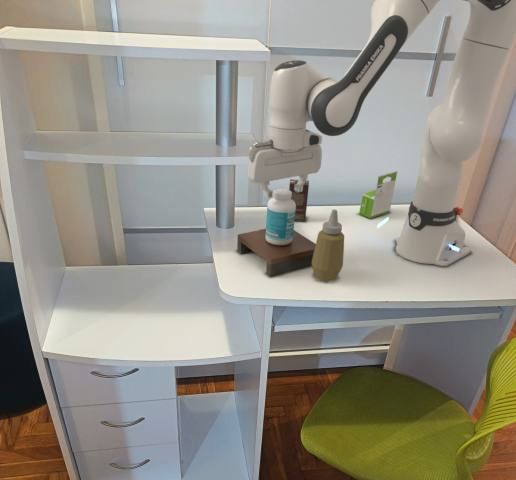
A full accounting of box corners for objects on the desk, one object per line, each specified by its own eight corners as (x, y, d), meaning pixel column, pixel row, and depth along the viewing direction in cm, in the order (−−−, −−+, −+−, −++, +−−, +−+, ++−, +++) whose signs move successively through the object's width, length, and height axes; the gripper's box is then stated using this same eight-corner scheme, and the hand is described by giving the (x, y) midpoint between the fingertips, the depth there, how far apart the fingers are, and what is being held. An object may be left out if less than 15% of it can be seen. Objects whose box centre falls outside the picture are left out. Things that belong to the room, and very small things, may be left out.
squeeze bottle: (316, 285, 128) (325, 217, 118) (305, 270, 134) (312, 205, 124) (346, 282, 130) (357, 215, 120) (333, 268, 136) (343, 203, 126)
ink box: (377, 207, 175) (385, 166, 166) (390, 212, 171) (399, 171, 163) (358, 214, 169) (365, 172, 161) (370, 219, 166) (378, 176, 158)
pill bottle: (290, 248, 134) (294, 198, 126) (262, 244, 135) (265, 194, 127) (294, 237, 140) (299, 188, 132) (268, 233, 141) (271, 185, 133)
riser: (284, 240, 149) (285, 224, 146) (319, 264, 138) (321, 247, 135) (237, 251, 142) (237, 234, 139) (270, 277, 131) (271, 259, 128)
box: (305, 216, 165) (309, 179, 158) (305, 222, 161) (309, 184, 154) (287, 215, 165) (290, 178, 158) (286, 220, 162) (289, 183, 155)
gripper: (256, 146, 115) (255, 205, 123) (327, 136, 124) (322, 191, 132) (242, 139, 119) (242, 197, 127) (312, 130, 128) (307, 184, 136)
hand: (283, 194), depth 130 cm, fingers open, 8 cm apart
